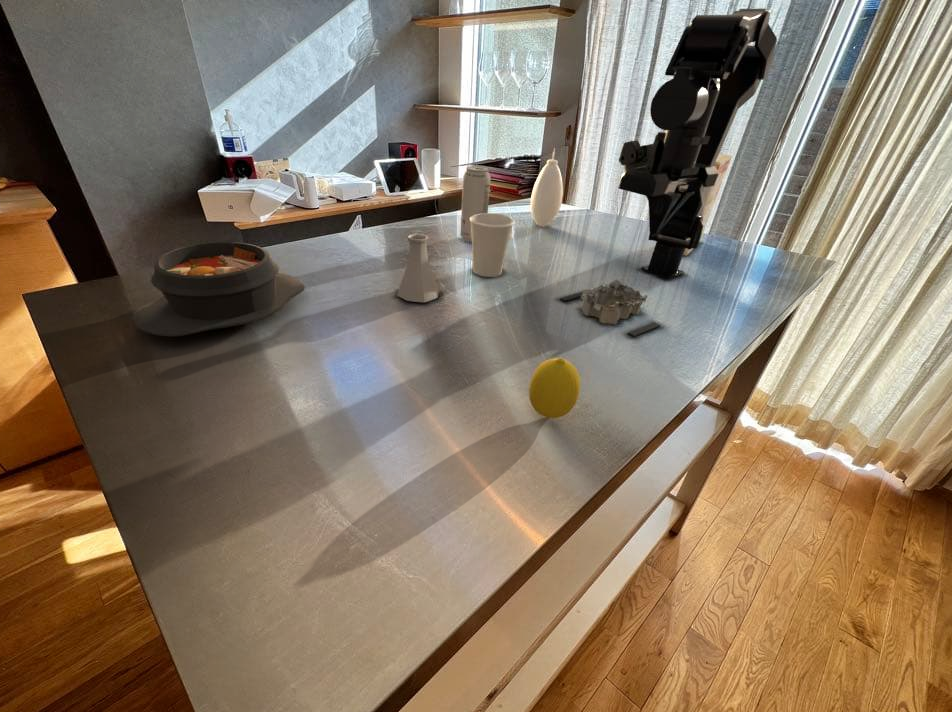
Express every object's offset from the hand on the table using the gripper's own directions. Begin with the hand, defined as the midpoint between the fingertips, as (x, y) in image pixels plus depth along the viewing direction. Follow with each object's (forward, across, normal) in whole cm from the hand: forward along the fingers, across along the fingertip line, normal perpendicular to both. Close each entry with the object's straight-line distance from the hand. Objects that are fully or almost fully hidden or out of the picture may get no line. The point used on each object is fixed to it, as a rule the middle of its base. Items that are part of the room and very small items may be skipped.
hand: (653, 233), depth 75 cm
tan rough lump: (+11, +10, +2) cm, 15 cm away
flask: (+11, +35, -20) cm, 42 cm away
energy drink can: (+12, +7, -41) cm, 43 cm away
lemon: (+11, +40, +17) cm, 45 cm away
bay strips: (+11, +10, +2) cm, 15 cm away
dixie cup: (+11, +17, -23) cm, 31 cm away
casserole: (+11, +64, -30) cm, 71 cm away
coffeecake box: (+12, -37, -13) cm, 41 cm away
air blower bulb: (+12, -18, -42) cm, 47 cm away
